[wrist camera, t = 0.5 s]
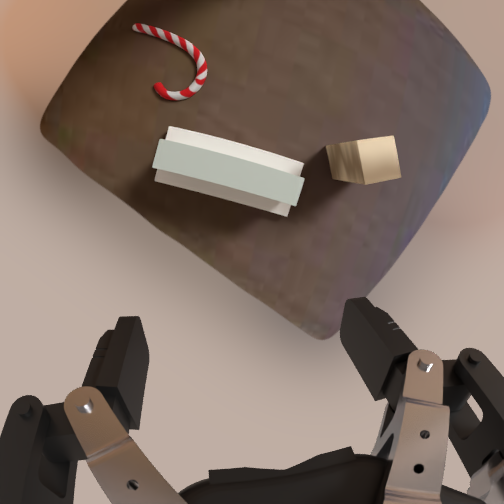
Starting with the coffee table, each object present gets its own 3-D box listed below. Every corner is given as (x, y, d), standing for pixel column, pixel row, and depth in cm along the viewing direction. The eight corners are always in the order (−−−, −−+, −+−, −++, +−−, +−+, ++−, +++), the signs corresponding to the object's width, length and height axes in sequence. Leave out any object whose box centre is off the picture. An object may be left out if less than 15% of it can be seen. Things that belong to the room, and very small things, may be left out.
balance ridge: (171, 127, 33) (156, 117, 26) (301, 163, 36) (319, 163, 28) (157, 180, 35) (138, 184, 27) (285, 214, 38) (299, 227, 30)
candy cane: (151, 8, 27) (221, 70, 31) (153, 12, 28) (222, 73, 32) (108, 45, 28) (174, 109, 32) (111, 48, 29) (176, 111, 33)
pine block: (325, 145, 35) (356, 140, 26) (355, 140, 35) (393, 135, 26) (332, 179, 37) (365, 184, 27) (362, 173, 37) (401, 177, 27)
